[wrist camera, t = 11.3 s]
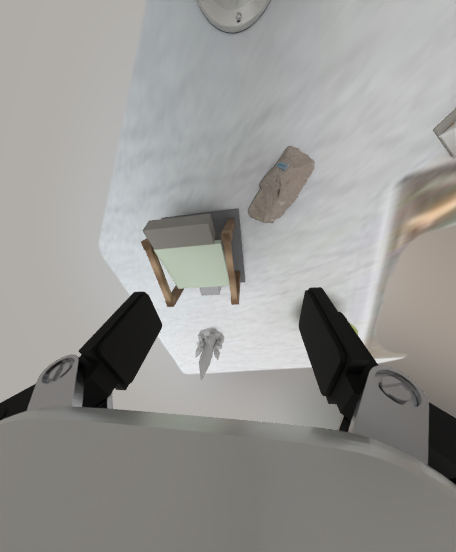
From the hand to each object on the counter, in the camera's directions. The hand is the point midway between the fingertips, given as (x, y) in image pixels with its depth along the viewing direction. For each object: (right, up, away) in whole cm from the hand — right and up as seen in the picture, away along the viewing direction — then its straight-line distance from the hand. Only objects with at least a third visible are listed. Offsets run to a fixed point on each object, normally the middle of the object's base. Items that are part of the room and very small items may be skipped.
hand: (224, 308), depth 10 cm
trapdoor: (-7, +6, +24) cm, 26 cm away
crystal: (-6, -21, +51) cm, 56 cm away
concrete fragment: (+10, +20, +25) cm, 34 cm away
